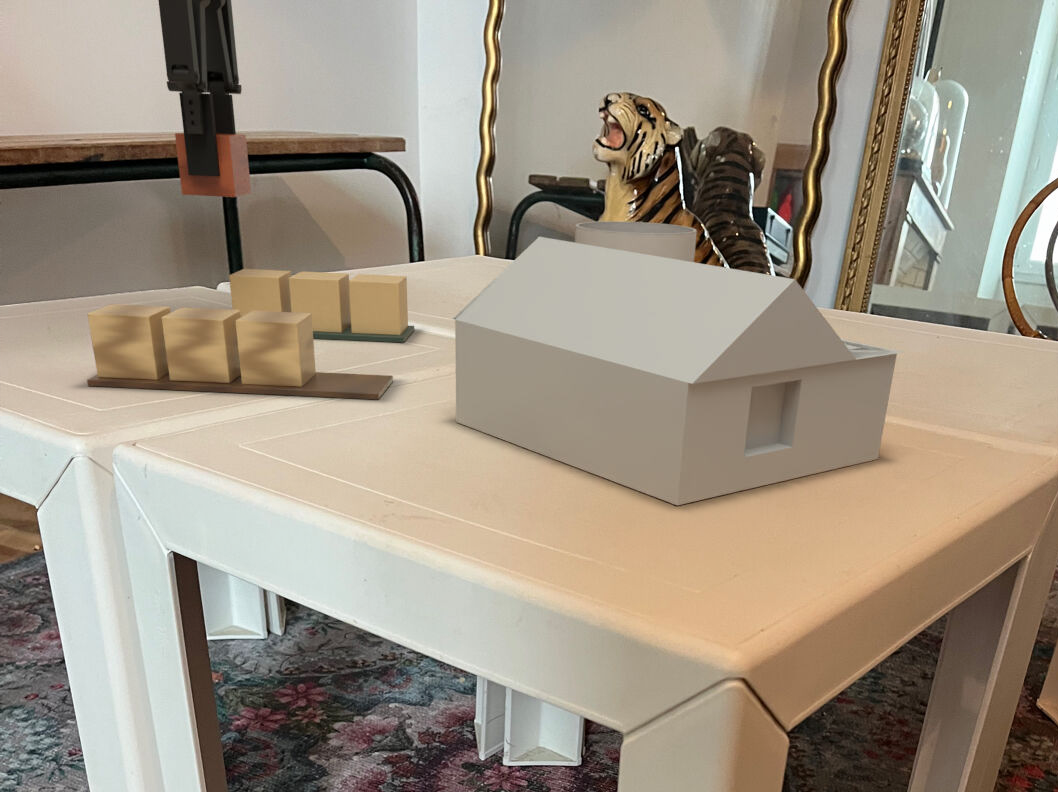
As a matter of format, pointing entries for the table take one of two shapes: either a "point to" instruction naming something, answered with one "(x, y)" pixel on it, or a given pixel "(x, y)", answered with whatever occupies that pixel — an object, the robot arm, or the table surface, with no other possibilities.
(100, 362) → the front word
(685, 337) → the toy house
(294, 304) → the block row
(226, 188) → the copper orange cube
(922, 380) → the table surface
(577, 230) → the planter
